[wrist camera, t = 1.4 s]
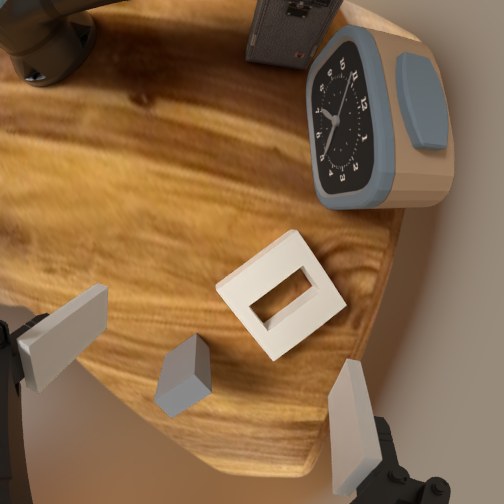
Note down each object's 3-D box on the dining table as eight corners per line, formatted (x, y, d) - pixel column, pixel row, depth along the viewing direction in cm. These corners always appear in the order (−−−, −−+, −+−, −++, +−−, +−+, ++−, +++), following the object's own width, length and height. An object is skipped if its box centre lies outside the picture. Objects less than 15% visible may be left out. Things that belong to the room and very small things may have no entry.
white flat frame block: (215, 284, 44) (216, 290, 41) (290, 229, 45) (297, 230, 42) (268, 351, 47) (273, 361, 43) (337, 299, 47) (346, 305, 44)
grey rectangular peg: (165, 355, 44) (153, 401, 32) (196, 332, 45) (194, 374, 32) (178, 369, 45) (171, 418, 32) (209, 348, 45) (211, 392, 32)
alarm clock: (298, 78, 43) (358, -2, 22) (355, 83, 44) (434, 21, 23) (310, 211, 45) (393, 207, 24) (368, 208, 47) (469, 206, 25)
